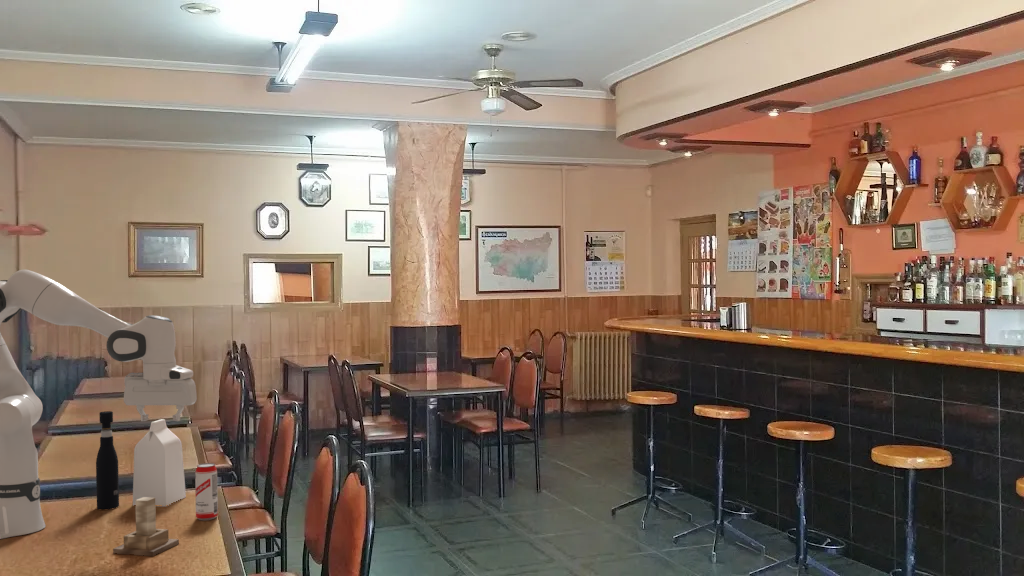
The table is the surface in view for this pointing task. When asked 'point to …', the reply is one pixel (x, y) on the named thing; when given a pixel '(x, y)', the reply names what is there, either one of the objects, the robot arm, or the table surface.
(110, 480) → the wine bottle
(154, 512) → the beige rectangular block
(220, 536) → the table surface
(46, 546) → the table surface
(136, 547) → the wooden socket base
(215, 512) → the beer can
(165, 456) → the milk
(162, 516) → the table surface
